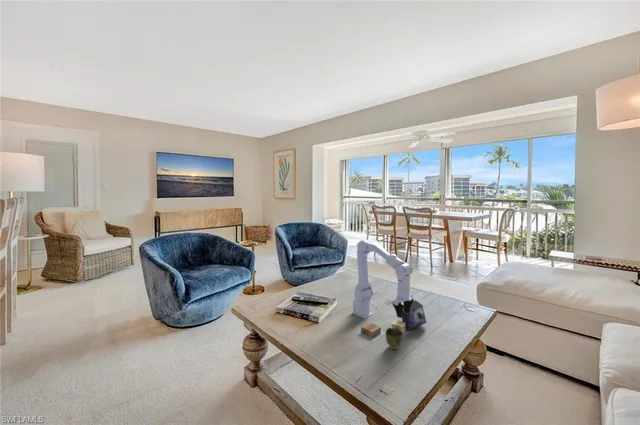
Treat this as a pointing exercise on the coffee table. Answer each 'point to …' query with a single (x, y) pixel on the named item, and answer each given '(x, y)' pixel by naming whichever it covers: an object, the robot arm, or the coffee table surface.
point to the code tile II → (405, 334)
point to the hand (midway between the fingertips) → (403, 314)
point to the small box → (414, 316)
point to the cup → (393, 338)
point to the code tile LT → (370, 337)
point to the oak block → (399, 326)
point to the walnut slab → (370, 329)
